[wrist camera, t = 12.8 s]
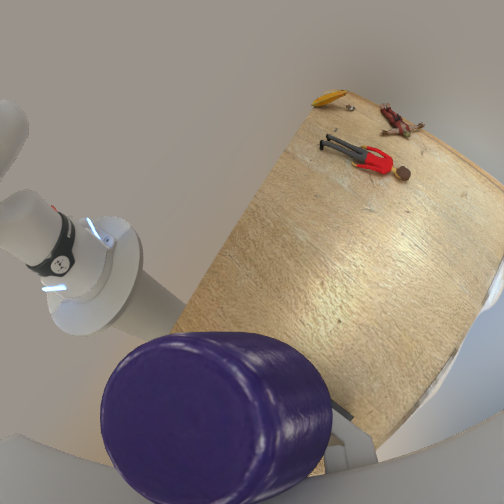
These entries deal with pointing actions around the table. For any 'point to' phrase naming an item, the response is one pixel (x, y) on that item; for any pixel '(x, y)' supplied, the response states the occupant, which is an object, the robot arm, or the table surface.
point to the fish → (329, 98)
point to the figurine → (397, 123)
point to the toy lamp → (215, 418)
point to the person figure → (368, 158)
